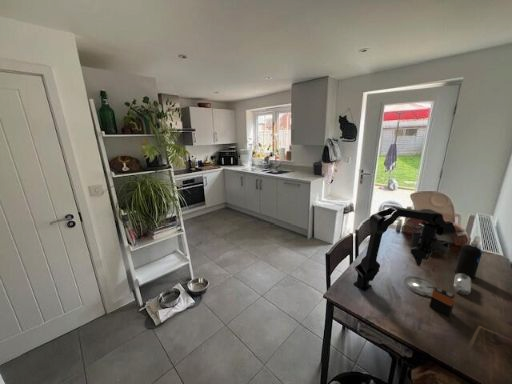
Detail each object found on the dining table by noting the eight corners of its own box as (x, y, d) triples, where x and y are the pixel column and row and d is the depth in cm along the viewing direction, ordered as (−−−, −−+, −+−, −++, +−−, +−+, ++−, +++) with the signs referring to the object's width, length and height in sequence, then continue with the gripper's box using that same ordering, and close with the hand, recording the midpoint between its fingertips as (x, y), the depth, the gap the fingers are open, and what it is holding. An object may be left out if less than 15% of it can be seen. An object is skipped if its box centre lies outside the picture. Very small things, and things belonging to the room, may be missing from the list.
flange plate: (432, 301, 96) (433, 299, 96) (399, 284, 108) (399, 282, 107) (442, 289, 104) (443, 287, 103) (410, 274, 115) (411, 272, 115)
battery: (448, 317, 88) (453, 298, 85) (428, 307, 94) (433, 288, 91) (451, 312, 90) (456, 293, 88) (432, 302, 96) (436, 284, 93)
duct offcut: (469, 297, 99) (472, 286, 97) (452, 290, 103) (454, 280, 101) (469, 286, 105) (472, 276, 104) (453, 281, 109) (456, 271, 108)
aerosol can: (457, 276, 112) (466, 244, 107) (452, 268, 119) (460, 237, 114) (478, 281, 109) (488, 248, 103) (471, 272, 116) (480, 240, 110)
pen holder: (425, 253, 136) (428, 239, 133) (408, 247, 142) (411, 234, 140) (428, 247, 142) (431, 234, 139) (411, 243, 148) (414, 230, 146)
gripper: (442, 247, 89) (435, 278, 93) (456, 236, 99) (449, 264, 103) (412, 237, 98) (407, 266, 102) (428, 228, 108) (422, 254, 112)
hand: (422, 262), depth 104 cm, fingers open, 9 cm apart
